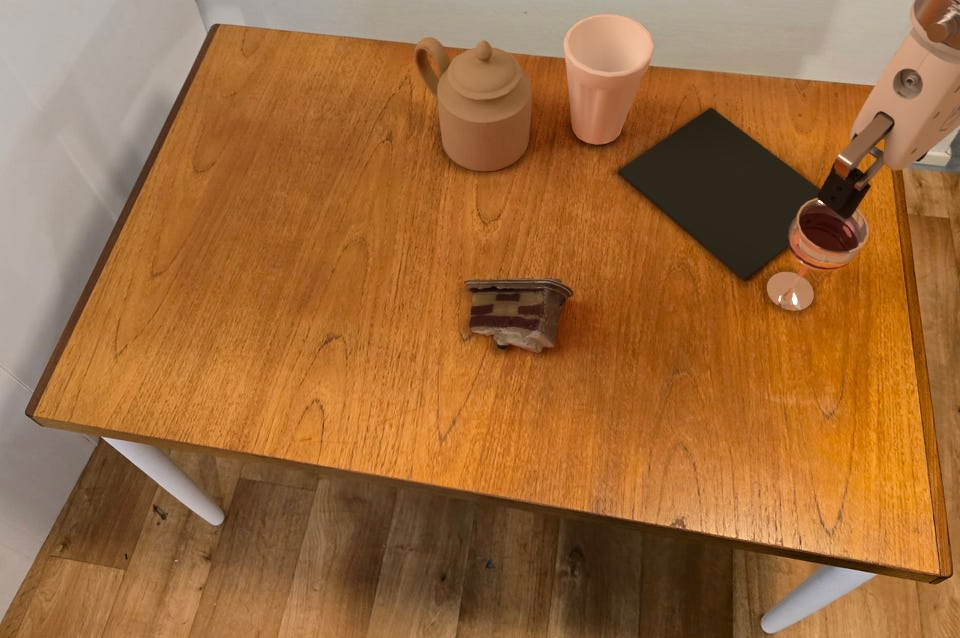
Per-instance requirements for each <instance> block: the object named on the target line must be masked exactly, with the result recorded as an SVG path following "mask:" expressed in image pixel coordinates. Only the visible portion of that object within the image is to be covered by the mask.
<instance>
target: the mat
mask: <svg viewBox="0 0 960 638" xmlns="http://www.w3.org/2000/svg"><path fill="white" fill-rule="evenodd" d="M617 174H619V176H621V178H623V180H625V181H626V182H628V184H630V185H631V186H632V187H633V188H635V189H636V190H637V191H638V192H639V193H640V194H641V195H642V196H644V198H646V199H647V200H648V201H650V202H651V203H652V204H653V205H654V206H656V207H657V208H658V209H659V210H660V211H662V213H664V214H665V215H666V216H667V217H668V218H669V219H671V220H672V221H673V222H674V223H676V224H677V226H679V227H680V228H681V229H682V230H684V232H686V233H687V234H688V235H689V236H690V237H692V239H694V240H695V241H696V242H697V243H699V244H700V245H701V246H702V247H703V248H705V249H706V250H707V251H708V252H709V253H710V254H711V255H713V256H714V257H715V258H716V259H718V261H720V263H722V264H723V265H724V266H726V267H727V268H728V269H729V270H730V271H731V272H733V273H734V274H735V275H736V276H737V277H738V278H739V279H741V280H742V281H743V282H745V281H746V280H748V279H749V278H751V277H752V276H753V275H755V273H757V272H758V271H759V270H761V269H763V267H764V266H766V265H767V264H768V263H769V262H771V261H772V260H773V259H775V258H776V257H778V255H780V254H781V253H783V252H784V251H785V250H786V249H787V248H789V246H788V241H787V237H788V229H789V227H790V225H791V223H792V221H793V219H794V218H795V217H796V216H797V214H798V212H799V210H800V208H801V206H803V205H804V204H805V203H806V202H808V201H810V200H813V199H815V198H817V195H818V193H819V191H820V189H821V188H819V187H817V185H815V184H814V183H813V182H811V181H809V179H807V178H805V177H804V175H802V174H800V173H799V172H798V171H796V170H795V169H794V168H793V167H791V166H790V165H788V164H787V163H785V161H783V160H782V159H780V158H779V157H778V156H776V154H774V153H772V152H771V151H770V150H768V149H767V148H766V147H765V146H763V145H762V144H761V143H759V142H758V141H757V140H755V139H754V138H752V137H751V136H750V135H748V133H746V132H744V131H743V130H742V129H741V128H740V127H738V126H736V125H735V124H734V123H732V122H731V121H730V120H728V119H727V118H726V117H725V116H724V115H722V114H720V113H719V112H718V111H717V110H715V109H714V108H713V107H709V108H708V109H706V110H705V111H703V112H702V113H700V114H699V115H697V116H695V118H693V119H691V120H690V121H688V122H687V123H686V124H683V126H680V128H677V130H675V131H674V132H672V133H671V134H670V135H668V136H666V137H665V138H663V139H662V140H660V141H659V142H657V143H656V144H655V145H653V146H651V147H650V148H648V150H646V151H644V152H643V153H642V154H640V155H639V156H637V157H635V158H634V159H633V160H631V161H630V162H628V163H627V164H625V165H623V166H622V167H620V168H619V169H618V170H617Z"/></svg>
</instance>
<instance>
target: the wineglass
mask: <svg viewBox="0 0 960 638" xmlns="http://www.w3.org/2000/svg"><path fill="white" fill-rule="evenodd" d="M869 235H870V226H869V223H868V221H867V218H866V217H865V215H863V213H862V212H861V211H860V209H858V208H857V209H856V210H855V212H854V214H853V215H852V216H851V217H849V218H848V219H844V218H843V217H841V216H840V215H839V214H837V213H836V212H835V211H833V210H832V209H830V208H829V207H828V206H826V205H825V204H824V203H822V202H821V201H820V200H819V199H818V198H815V199H813V200H810V201H808V202H806V203H805V204H804V205H803V206H801V208H800V210H799V212H798V214H797V216H796V217H795V218H794V219H793V221H792V223H791V225H790V227H789V229H788V237H787V241H788V248H789V252H790V253H791V254H792V256H793V258H794V259H795V260H796V261H797V262H799V263H800V264H801V265H802V266H801V268H800V269H799V271H798V273H797V272H792V271H780V272H778V273H775V274H773V275H772V276H771V277H769V279H768V280H767V281H768V282H767V284H766V291H767V294H768V295H767V296H768V297H769V299H770V300H771V301H772V302H773V303H774V304H775V305H776V306H778V307H780V308H782V309H784V310H787V311H792V312H795V311H802V310H805V309H806V308H808V307H809V306H810V305H811V304H812V303H813V301H814V298H815V297H814V296H815V291H814V289H813V286H812V284H811V283H810V281H808V279H806V277H804V276H805V274H806V273H807V271H808V270H809V269H811V270H813V271H818V272H833V271H836V270H838V269H841V268H844V267H845V266H847V265H849V264H850V263H851V262H852V261H853V260H855V258H857V256H858V255H859V253H860V250H861V248H862V247H863V246H864V245H865V244H866V243H867V241H868V238H869Z"/></svg>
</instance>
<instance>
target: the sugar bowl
mask: <svg viewBox="0 0 960 638" xmlns="http://www.w3.org/2000/svg"><path fill="white" fill-rule="evenodd" d="M428 54H429V55H430V56H431V58H432V59H433V61H434V63H435V66H436V69H437V72H438V75H437V74H436V72H435V70H434V69H433V67H432V64H431V62H430V59H429V55H428ZM413 59H414V62H415V66H416V70H417V72H418V74H419V76H420V79H421V80H422V81H423V84H424V85H425V87H426V88H427V89H428V91H429V92H430V94H431V96H433V97H434V99H435V100H436V101H437V107H438V108H437V109H438V120H439V127H440V136H441V142H442V147H443V150H444V151H445V153H446V155H447V156H448V157H449V159H450V160H452V161H453V162H454V163H455V164H457V165H458V166H459V167H461V168H462V167H463V168H465V169H467V170H471V171H475V172H485V173H487V172H495V171H499V170H503V169H505V168H508V167H510V166H511V165H513V164H514V163H516V162H517V161H518V160H520V158H521V157H522V156H523V155H524V154H525V153H526V150H527V148H528V146H529V141H530V131H531V121H532V120H531V119H532V106H533V105H532V104H533V102H532V101H533V100H532V99H533V96H532V95H533V87H532V81H531V78H530V76H529V74H528V72H526V71H525V69H524V68H523V67H521V64H520V62H519V61H518V59H517V58H516V57H515V56H514V55H512V54H511V53H510V52H507V51H506V50H504V49H500V48H497V47H492V45H491V44H490V43H489V42H488V41H487V40H484V39H483V40H480V41H479V42H478V43H477V44H476V47H473V48H469V49H467V50H465V51H463V52H461V53H459V54H457V55H456V56H455V57H454V58H453V59H452V61H451V60H450V56H449V54H448V51H447V49H446V48H445V47H444V44H442V43H441V42H440V40H438V39H436V38H435V37H432V36H430V37H429V36H428V37H423V38H422V39H420V40H419V41H418V42H417V44H416V45H415V47H414V51H413Z"/></svg>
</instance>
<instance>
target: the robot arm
mask: <svg viewBox="0 0 960 638" xmlns="http://www.w3.org/2000/svg"><path fill="white" fill-rule="evenodd" d="M909 18H910V22H911V26H912V28H911V29H910V31H909V32H908V34H907V36H906V37H905V38H904V40H903V41H902V43H901V44H900V46H899V48H897V50H896V51H895V52H894V55H893V56H892V58H891V60H890V61H889V62H888V64H887V66H886V68H885V69H884V70H883V72H882V74H881V76H880V77H879V79H878V80H877V82H876V83H875V85H874V86H873V88H872V90H871V91H870V94H869V95H868V97H867V98H866V100H865V102H864V103H863V105H862V106H861V109H860V111H859V112H858V114H857V115H856V118H855V120H854V122H853V124H852V126H851V129H850V132H849V141H850V143H849V144H848V145H847V146H846V147H845V148H843V149H842V151H840V153H839V154H838V155H837V156H836V157H835V159H834V162H833V163H832V165H831V168H830V171H829V173H828V175H827V177H826V179H825V180H824V182H823V184H822V186H821V188H819V189H820V191H819V193H818V195H817V198H818V199H819V200H820V201H821V202H822V203H824V204H825V205H826V206H828V207H829V208H830V209H832V210H833V211H835V212H836V213H837V214H839V215H840V216H841V217H843V218H844V219H848V218H849V217H851V216H852V215H853V214H854V212H855V210H856V209H858V208H859V206H860V204H861V203H862V201H863V200H864V198H865V196H866V195H867V193H868V192H869V190H870V189H871V187H872V185H871V184H870V181H871V180H872V179H873V178H874V177H875V176H876V174H878V172H879V171H880V170H881V169H882V168H883V167H884V166H886V167H888V168H889V169H890V170H891V171H901V170H904V169H906V168H908V167H909V166H911V165H912V164H914V163H915V162H916V163H919V162H921V161H922V160H924V158H926V156H927V155H928V153H929V151H931V150H932V149H933V148H934V147H935V146H936V145H939V143H941V142H942V141H943V140H945V139H946V138H947V137H948V136H949V135H950V134H951V133H953V132H954V131H955V130H956V129H958V127H960V0H914V1H913V2H912V5H911V8H910V10H909ZM882 140H883V141H884V146H883V150H882V149H880V148H878V147H877V145H878V144H879V143H880V142H881V141H882ZM868 154H870V155H871V157H873V158H875V160H874V161H873V162H872V163H871V164H870V165H869V166H868V168H867V169H866V170H865V171H864V172H863V171H862V170H861V169H859V166H860V163H861V161H863V160H864V159H865V157H866V156H867V155H868Z"/></svg>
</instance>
